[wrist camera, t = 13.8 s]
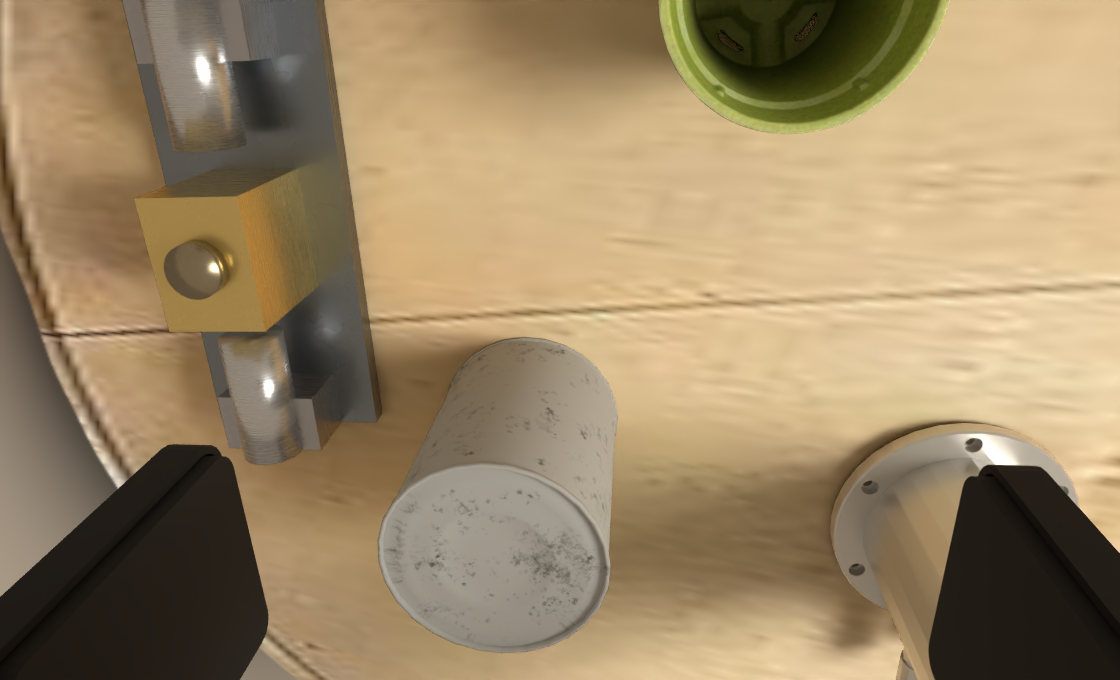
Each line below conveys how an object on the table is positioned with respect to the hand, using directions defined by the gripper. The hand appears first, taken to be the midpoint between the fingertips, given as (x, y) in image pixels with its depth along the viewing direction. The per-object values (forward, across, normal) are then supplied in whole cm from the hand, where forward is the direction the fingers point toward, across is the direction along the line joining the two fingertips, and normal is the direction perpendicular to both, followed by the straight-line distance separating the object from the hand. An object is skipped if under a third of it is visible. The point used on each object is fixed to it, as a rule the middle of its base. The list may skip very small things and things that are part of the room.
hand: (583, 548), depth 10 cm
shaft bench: (+28, +18, +3) cm, 34 cm away
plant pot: (+28, -6, -7) cm, 30 cm away
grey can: (+28, +5, +14) cm, 32 cm away
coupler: (+27, +18, +3) cm, 33 cm away
